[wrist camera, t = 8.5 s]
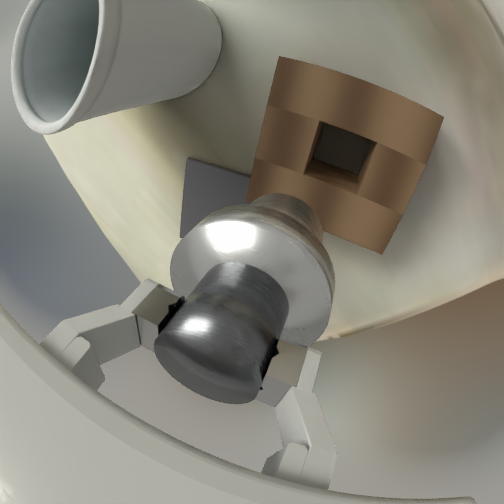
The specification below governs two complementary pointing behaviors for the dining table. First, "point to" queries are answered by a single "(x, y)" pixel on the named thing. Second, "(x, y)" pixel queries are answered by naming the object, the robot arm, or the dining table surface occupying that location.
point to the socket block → (334, 178)
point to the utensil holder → (108, 57)
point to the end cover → (245, 295)
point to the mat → (209, 192)
